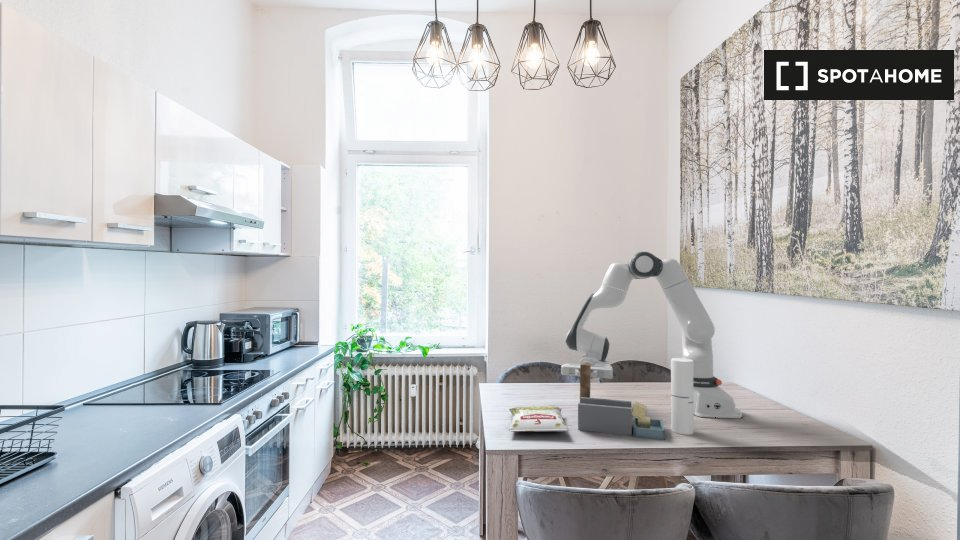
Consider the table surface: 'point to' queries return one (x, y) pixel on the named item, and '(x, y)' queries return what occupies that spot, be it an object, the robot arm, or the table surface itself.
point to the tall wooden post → (585, 379)
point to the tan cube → (639, 410)
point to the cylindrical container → (682, 396)
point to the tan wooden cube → (644, 422)
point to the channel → (605, 415)
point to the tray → (654, 432)
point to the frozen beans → (537, 419)
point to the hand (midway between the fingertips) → (585, 375)
